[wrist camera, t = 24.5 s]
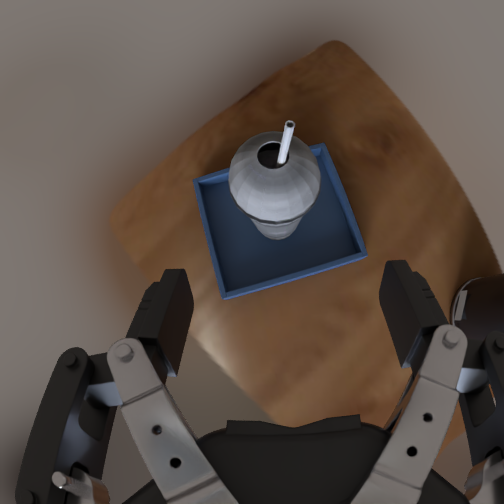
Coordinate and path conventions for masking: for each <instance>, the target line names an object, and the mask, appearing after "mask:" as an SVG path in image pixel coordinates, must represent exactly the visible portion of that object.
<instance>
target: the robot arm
mask: <svg viewBox="0 0 504 504" xmlns="http://www.w3.org/2000/svg"><path fill="white" fill-rule="evenodd" d="M430 289H431V288H430V287H429V285H428V283H427V281H426V279H425V278H423V277H422V276H421V275H420V274H419V273H418V272H412V270H411V269H410V267H409V265H408V263H407V262H406V260H392V261H387V262H386V264H385V269H384V273H383V278H382V282H381V286H380V290H379V301H380V305H381V308H382V311H383V314H384V316H385V319H386V322H387V325H388V328H389V331H390V334H391V337H392V340H393V343H394V346H395V349H396V352H397V356H398V359H399V362H400V366H401V368H407V367H411V369H412V374H411V376H410V378H409V380H408V382H407V385H406V387H405V389H404V391H403V393H402V395H401V397H400V399H399V401H398V403H397V405H396V407H395V409H394V411H393V413H392V415H391V416H390V418H389V419H388V421H387V423H386V424H385V426H384V428H381V427H379V426H376V425H373V424H369V423H365V422H361V420H360V414H357V415H350V416H341V417H331V418H326V419H323V420H320V421H317V422H313V423H310V424H307V425H303V426H300V427H296V428H292V427H286V426H281V425H276V424H271V423H267V422H262V421H235V420H234V421H233V420H227V427H226V428H223V429H220V430H216V431H213V432H211V433H208V434H206V435H204V436H203V437H201V438H199V439H198V437H197V436H196V434H195V433H194V431H193V430H192V428H191V427H190V425H189V424H188V422H187V421H186V419H185V418H184V416H183V414H182V413H181V411H180V410H179V408H178V406H177V404H176V403H175V401H174V399H173V397H172V395H171V394H170V392H169V390H168V388H167V387H166V385H165V383H166V379H167V376H172V377H177V374H178V370H179V366H180V361H181V357H182V353H183V349H184V345H185V341H186V337H187V334H188V330H189V326H190V322H191V318H192V314H193V309H194V300H193V295H192V292H191V288H190V285H189V281H188V278H187V274H186V271H185V269H166V270H165V271H164V273H163V275H162V278H161V280H160V282H154V283H153V284H152V285H151V286H150V287H149V288H148V289H147V290H146V291H145V293H144V296H143V298H142V302H140V305H139V307H138V310H137V311H136V314H135V316H134V318H133V321H132V323H131V325H130V328H129V330H128V332H127V335H126V338H124V339H120V340H118V341H117V342H115V343H114V344H113V345H112V346H111V347H110V349H109V351H108V352H106V353H102V354H96V355H91V356H88V354H87V353H86V352H85V351H84V350H83V349H82V348H78V347H75V348H70V349H68V350H66V351H65V352H64V353H63V354H62V355H61V356H60V357H59V359H58V361H57V364H56V366H55V368H54V371H53V373H52V376H51V378H50V381H49V383H48V385H47V388H46V390H45V393H44V396H43V398H42V401H41V404H40V406H39V410H38V412H37V415H36V418H35V421H34V425H33V427H32V430H31V433H30V436H29V440H28V443H27V446H26V450H25V453H24V457H23V461H22V465H21V469H20V473H19V477H18V481H17V486H16V491H15V499H16V503H17V504H109V502H110V497H109V493H108V489H107V487H106V486H105V484H104V483H103V482H102V481H101V480H102V474H103V468H104V463H105V458H106V453H107V449H108V444H109V440H110V435H111V431H112V426H113V422H114V418H115V414H116V410H117V406H118V405H121V411H122V414H123V416H124V418H125V421H126V423H127V425H128V428H129V430H130V432H131V434H132V437H133V439H134V441H135V443H136V445H137V447H138V450H139V452H140V453H141V456H142V458H143V460H144V462H145V464H146V466H147V467H148V469H149V471H150V473H151V475H152V477H153V479H152V480H151V481H150V482H148V483H147V484H146V485H145V486H143V488H141V489H140V490H139V491H137V492H136V493H135V494H134V495H133V496H131V497H130V498H129V499H127V500H126V501H125V502H123V503H122V504H504V274H499V275H494V276H489V277H484V278H474V279H470V280H468V281H466V282H465V283H464V284H463V285H462V286H461V287H460V288H459V289H458V291H457V292H456V294H455V296H454V299H453V301H452V305H451V310H450V325H449V323H448V321H447V319H446V317H445V315H444V313H443V311H442V309H441V307H440V305H439V303H438V301H437V299H436V298H435V296H434V294H433V292H432V290H430ZM489 384H490V385H491V388H492V391H493V394H494V397H495V400H496V408H495V404H494V401H493V398H492V395H491V391H490V388H489ZM458 400H459V403H460V407H461V411H462V415H463V420H464V424H465V428H466V433H467V438H468V443H469V448H470V454H471V460H472V466H473V468H472V469H471V470H470V472H469V474H468V477H467V481H466V482H465V485H464V487H465V490H466V492H465V494H464V495H463V494H462V493H461V492H460V491H459V490H457V489H456V488H455V487H454V486H452V485H451V484H450V483H449V482H448V481H446V480H445V479H444V478H443V477H441V476H440V475H439V474H438V473H437V472H436V471H434V470H433V469H432V465H433V463H434V461H435V459H436V457H437V454H438V452H439V450H440V447H441V445H442V443H443V440H444V438H445V435H446V433H447V430H448V427H449V425H450V422H451V419H452V416H453V413H454V410H455V407H456V404H457V401H458Z"/></svg>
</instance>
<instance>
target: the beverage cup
mask: <svg viewBox="0 0 504 504" xmlns="http://www.w3.org/2000/svg"><path fill="white" fill-rule="evenodd" d="M294 126H295V123H294V122H293V121H290V120H288V121H286V123H285V128H284V132H276V131H271V132H264V133H260V134H258V135H256V136H253V137H251V138H249V139H248V140H247V141H246V142H245V143H244V144H242V145H241V146H240V147H239V149H238V150H237V152H236V153H235V155H234V157H233V159H232V161H231V165H230V170H229V179H228V184H229V191H230V195H231V197H232V199H233V201H234V203H235V205H236V207H237V208H238V209H240V210H241V211H242V212H243V213H244V214H245V215H246V216H247V217H249V218H250V219H251V220H252V221H253V223H254V224H255V226H256V227H257V229H258V230H259V231H260V232H261V233H262V234H263V235H264V236H265V237H267V238H269V239H272V240H282V239H285V238H287V237H289V236H290V235H291V234H292V233H293V231H294V230H295V229H296V227H297V226H298V224H299V222H300V220H301V218H302V217H303V216H304V215H305V214H306V213H307V212H308V211H309V210H310V209H311V208H312V207H313V206H314V205H315V203H316V201H317V199H318V196H319V194H320V191H321V175H320V170H319V166H318V163H317V159H316V157H315V156H314V154H313V153H312V151H311V150H310V148H309V147H308V145H306V144H305V143H304V142H302V141H301V140H300V139H299V138H297V137H295V136H293V135H292V134H293V130H294Z"/></svg>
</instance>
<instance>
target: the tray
mask: <svg viewBox="0 0 504 504" xmlns="http://www.w3.org/2000/svg"><path fill="white" fill-rule="evenodd" d="M308 147H309V148H310V150H311V151H312V153H313V154H314V156H315V157H316V159H317V163H318V166H319V170H320V175H321V191H320V194H319V196H318V199H317V201H316V203H315V205H314V206H313V207H312V208H311V209H310V210H309V211H308V212H307V213H306V214H305V215H304V216H303V217H302V218H301V220H300V222H299V224H298V226H297V227H296V229H295V230H294V231H293V233H292V234H291V235H290V236H289V237H287V238H285V239H282V240H272V239H269V238H267V237H265V236H264V235H263V234H262V233H261V232H260V231H259V230H258V229H257V227H256V226H255V224H254V223H253V221H252V220H251V219H250V218H249V217H247V216H246V215H245V214H244V213H243V212H242V211H241V210H240V209H238V208H237V207H236V205H235V203H234V201H233V199H232V197H231V195H230V191H229V184H228V179H229V170H230V168H227V169H224V170H220V171H217V172H214V173H211V174H208V175H205V176H202V177H199V178H196V179H193V184H194V188H195V193H196V197H197V201H198V206H199V210H200V214H201V218H202V223H203V227H204V231H205V235H206V239H207V243H208V247H209V251H210V255H211V259H212V263H213V267H214V271H215V275H216V278H217V282H218V286H219V290H220V294H221V297H222V299H225V300H227V299H231V298H235V297H238V296H242V295H245V294H249V293H252V292H256V291H259V290H263V289H266V288H270V287H273V286H277V285H280V284H283V283H287V282H290V281H294V280H297V279H300V278H304V277H307V276H310V275H313V274H317V273H320V272H323V271H326V270H329V269H333V268H336V267H339V266H342V265H345V264H348V263H352V262H355V261H358V260H361V259H363V258H365V257H366V256H368V254H367V251H366V248H365V245H364V242H363V239H362V236H361V233H360V230H359V228H358V225H357V222H356V219H355V217H354V214H353V211H352V208H351V206H350V203H349V201H348V198H347V195H346V193H345V190H344V188H343V185H342V183H341V180H340V178H339V176H338V173H337V171H336V168H335V166H334V164H333V161H332V159H331V157H330V154H329V152H328V150H327V148H326V145H325V143H320V144H316V145H312V146H308Z"/></svg>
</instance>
